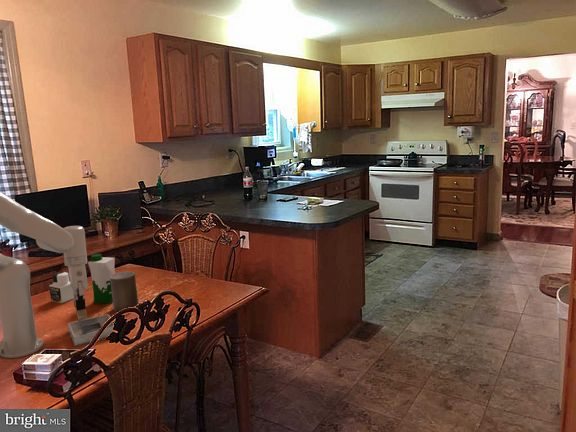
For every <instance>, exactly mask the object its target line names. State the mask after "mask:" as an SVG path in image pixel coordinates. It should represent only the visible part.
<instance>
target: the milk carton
mask: <svg viewBox="0 0 576 432" xmlns="http://www.w3.org/2000/svg"><path fill="white" fill-rule="evenodd" d="M115 260H116V258H115V257H109V256H107V257H103V256H102V254H101V253H94V254H92V255H91V260H89V261H87V264H88V268H89V270H90V275H91V283H92V289H93V290H92V291H93V293H92V294H93V304H108V305H110V303H113V299H112V290H111V282H110V276H111V275H113V274H116V272H115V271H116V270H115Z"/></svg>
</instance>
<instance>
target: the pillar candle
mask: <svg viewBox="0 0 576 432" xmlns="http://www.w3.org/2000/svg"><path fill="white" fill-rule="evenodd" d="M136 281H137V280H136V273H135V271H134V272H133V271H121V272H115V274H113V275H111V276H110V282H111V290H112V299H113V301H112V304H113V305H112V306H113V307H112V308H113V310H114V311H116V312H121V311H120V310H122V309H124V308H128V307H134V306H136V305H137V304H138V305H139V298H138V297H139V296H138V289H137V282H136Z"/></svg>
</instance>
